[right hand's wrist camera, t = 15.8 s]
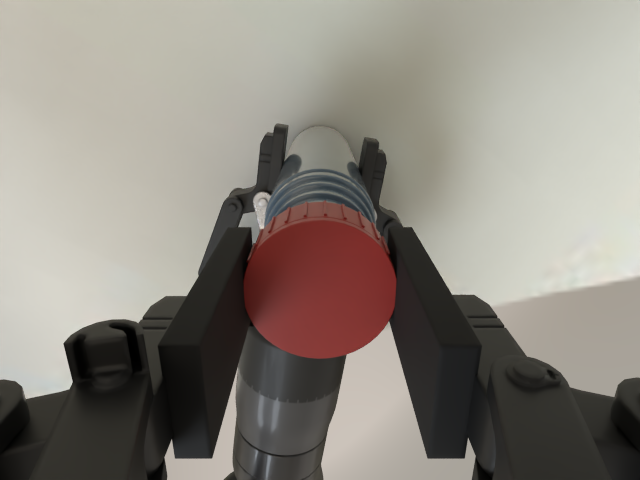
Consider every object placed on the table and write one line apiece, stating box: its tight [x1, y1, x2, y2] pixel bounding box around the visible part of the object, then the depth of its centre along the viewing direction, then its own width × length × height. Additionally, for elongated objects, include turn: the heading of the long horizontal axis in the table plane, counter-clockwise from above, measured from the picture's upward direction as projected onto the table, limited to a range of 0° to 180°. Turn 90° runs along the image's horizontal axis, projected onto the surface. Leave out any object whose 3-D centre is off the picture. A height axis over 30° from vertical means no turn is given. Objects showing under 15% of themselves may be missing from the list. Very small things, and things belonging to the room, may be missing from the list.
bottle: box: [264, 126, 376, 228], centre depth 23 cm, size 5×5×21 cm
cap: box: [243, 201, 397, 359], centre depth 14 cm, size 5×5×2 cm
